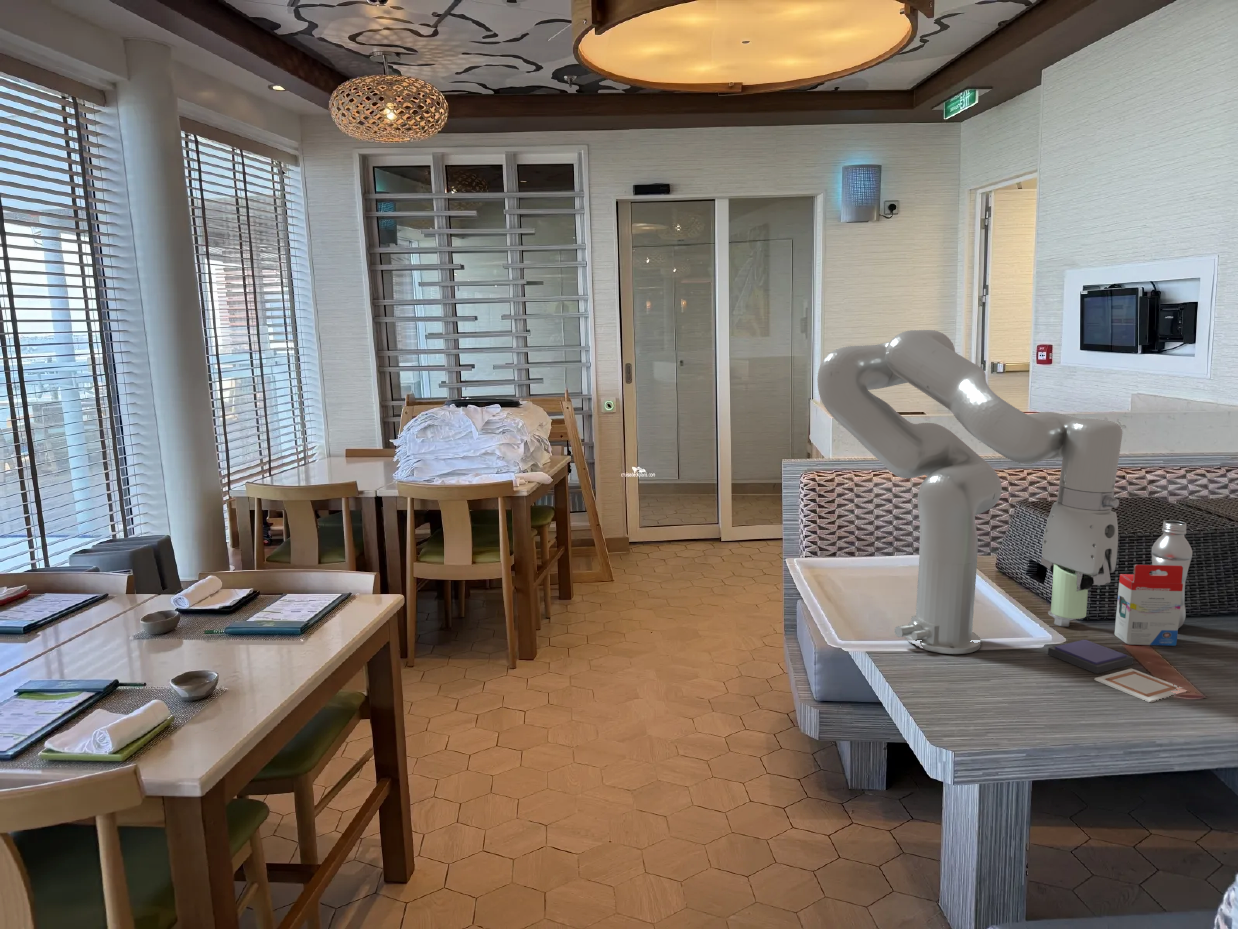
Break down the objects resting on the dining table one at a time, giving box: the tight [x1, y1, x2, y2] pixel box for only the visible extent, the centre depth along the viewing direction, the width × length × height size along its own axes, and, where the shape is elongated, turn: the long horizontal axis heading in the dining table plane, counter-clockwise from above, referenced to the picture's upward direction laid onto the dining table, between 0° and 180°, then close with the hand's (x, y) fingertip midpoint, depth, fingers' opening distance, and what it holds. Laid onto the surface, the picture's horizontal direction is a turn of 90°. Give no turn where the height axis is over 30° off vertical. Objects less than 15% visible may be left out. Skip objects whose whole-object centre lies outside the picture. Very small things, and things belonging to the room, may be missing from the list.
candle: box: [1050, 564, 1089, 620], centre depth 135 cm, size 5×5×8 cm
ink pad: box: [1047, 638, 1134, 675], centre depth 143 cm, size 9×9×2 cm
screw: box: [1047, 609, 1074, 627], centre depth 159 cm, size 13×5×5 cm
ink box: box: [1114, 564, 1183, 647], centre depth 150 cm, size 8×5×15 cm, turn 84°
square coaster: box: [1094, 668, 1183, 703], centre depth 133 cm, size 9×9×1 cm
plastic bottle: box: [1151, 519, 1193, 629], centre depth 157 cm, size 6×7×20 cm
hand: (1069, 610), depth 135 cm, fingers closed on candle, 1 cm apart
